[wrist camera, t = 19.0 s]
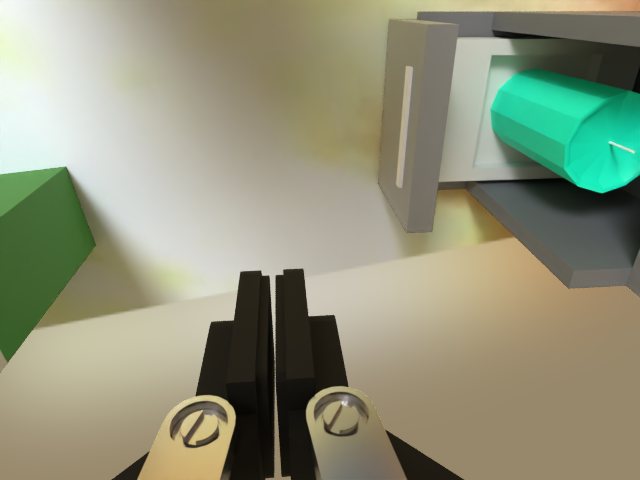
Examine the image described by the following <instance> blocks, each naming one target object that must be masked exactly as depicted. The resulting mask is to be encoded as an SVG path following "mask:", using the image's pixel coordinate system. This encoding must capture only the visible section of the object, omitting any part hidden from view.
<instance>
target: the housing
mask: <svg viewBox="0 0 640 480" xmlns="http://www.w3.org/2000/svg"><path fill="white" fill-rule="evenodd" d="M417 20H423V21H433V22H442V23H452V24H459V30H458V37H559V38H567V39H576V40H585V41H593V42H602V43H611V44H619V45H628V46H637V47H640V11H639V12H418V16H417ZM632 92H635V93H638V94H640V67H639V70H638V73H637V77H636V80H635V83H634V86H633V89H632ZM447 189H466V190H467V191H468V192H469V193H470V194H471V195H472V196H473V197H475V198H476V199H477V200H478V201H479V202H480V203H481V204H482V205H483V206H484V207H485V208H486V209H487V210H488V211H489V212H490V213H491V214H492V215H493V216H494V217H495V218H496V219H497V220H498V221H499V222H500V223H501V224H502V225H503V226H504V227H505V228H507V229H508V230H509V231H510V232H511V233H512V234H513V235H514V236H515V237H516V238H517V239H518V240H519V241H520V242H521V243H522V244H523V245H524V246H525V247H526V248H527V249H528V250H529V251H530V252H531V253H532V254H533V255H534V256H535V257H536V258H537V259H539V260H540V261H541V262H542V263H543V264H544V265H545V266H546V267H547V268H548V269H549V270H550V271H551V272H552V273H553V274H554V275H555V276H556V277H557V278H558V279H559V280H560V281H561V282H562V283H563V284H564V285H566V287H568V288H588V287H607V286H627V287H628V288H629V289H631V290H632V291H633V292H635V293H636V294H637V295H638V296H639V297H640V175H639V176H638V177H636V178H635V179H633V180H632V181H631V182H629V183H628V184H627V185H625V186H622V187H619V188H616V189H613V190H610V191H608V192H605V193H599V192H596V191H592V190H589V189H585V188H582V187H578V186H576V185H575V184H573V183H571V182H570V181H568V180H566V179H565V178H544V179H513V180H481V181H450V182H439V183H438V190H447Z"/></svg>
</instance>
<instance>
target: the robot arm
mask: <svg viewBox="0 0 640 480" xmlns="http://www.w3.org/2000/svg"><path fill="white" fill-rule="evenodd" d="M283 274H284V275H276V394H277V411H278V425H279V442H280V457H281V474H282V477H287V476H291V480H464V479H462V478H460V477H459V476H457V475H456V474H454V473H453V472H451V471H449V470H448V469H446V468H445V467H443V466H442V465H440V464H439V463H437V462H435V461H434V460H432V459H431V458H429V457H427V456H426V455H424V454H423V453H421V452H420V451H418V450H417V449H415V448H413V447H412V446H410V445H409V444H407V443H406V442H404V441H402V440H401V439H399V438H398V437H396V436H394V435H393V434H391V433H390V432H388V431H387V430H385V428H384V427H383V424H382V422H381V420H380V417H379V415H378V413H377V410H376V408H375V406H374V404H373V403H372V401H371V400H370V398H368V397H367V396H366V395H365V394H364V393H362V392H360V391H358V390H355V389H354V388H350V387H348V382H347V376H346V371H345V366H344V361H343V355H342V351H341V346H340V340H339V335H338V330H337V324H336V319H335V316H334V315H326V316H310V317H309V316H308V309H307V299H306V289H305V280H304V270H303V269H286V270H283ZM274 366H275V360H274V343H273V325H272V312H271V295H270V278H269V276H262V273H261V271H243V272H240V279H239V286H238V294H237V302H236V309H235V317H234V321H217V322H211V325H210V329H209V333H208V338H207V343H206V348H205V353H204V358H203V362H202V367H201V373H200V377H199V382H198V387H197V392H196V397H193V398H190V399H187V400H185V401H183V402H182V403H180V404H178V405H177V406H176V407H175V408H173V409H172V410H171V411H170V412H169V413H168V415H167V417H166V418H165V420H164V422H163V424H162V426H161V428H160V430H159V433H158V435H157V437H156V439H155V441H154V443H153V446H152V448H151V450H150V451H149V452H148V453H147V454H145V455H144V456H143V457H141V458H140V459H139V460H137V461H136V462H135V463H133V464H132V465H131V466H129V467H128V468H127V469H125V470H124V471H123V472H121V473H120V474H119V475H117V476H116V477H115V478H114V479H112V480H265V478H273V477H274V403H275V401H274V400H275V398H274V397H275V396H274V395H275V394H274V393H275V391H274V390H275V388H274V387H275V381H274V380H275V367H274Z"/></svg>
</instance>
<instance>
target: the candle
mask: <svg viewBox="0 0 640 480" xmlns="http://www.w3.org/2000/svg"><path fill="white" fill-rule="evenodd" d="M490 112H491V125H492V129H493V130H494V131H495V132H496V134H497V135H498V136H499V137H500V139H501V140H502V141H503V142H505V143H506V144H508V145H510V146H511V147H513V148H515V149H516V150H518V151H520V152H521V153H523V154H525V155H526V156H528V157H530V158H531V159H533V160H535V161H536V162H538V163H540V164H541V165H543V166H545V167H546V168H548V169H550V170H551V171H553V172H555V173H556V174H558V175H560V176H561V177H563V178H565V179H566V180H568V181H570V182H571V183H573V184H575V185H576V186H578V187H582V188H585V189H589V190H592V191H596V192H599V193H605V192H608V191H610V190H613V189H616V188H619V187H622V186H625V185H627V184H628V183H629V182H631V181H632V180H633V179H635V178H636V177H638V176H639V175H640V94H638V93H635V92H632V91H628V90H624V89H620V88H616V87H612V86H608V85H604V84H600V83H595V82H591V81H587V80H583V79H579V78H575V77H571V76H567V75H562V74H558V73H554V72H550V71H546V70H542V69H538V68H533V69H530V70H526V71H523V72H520V73H516V74H514V75H513V76H512V77H511V78H510V79H509V80H508V81H507V82H506V83H505V84H504V85H502V86H501V87H500V88H499V89H498V92H497V94H496V97H495V99H494V101H493V104H492V106H491V108H490Z"/></svg>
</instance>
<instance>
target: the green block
mask: <svg viewBox="0 0 640 480" xmlns="http://www.w3.org/2000/svg"><path fill="white" fill-rule="evenodd" d="M95 246H96V245H95V242H94V239H93V237H92V234H91V231H90V229H89V226H88V224H87V221H86V218H85V216H84V213H83V211H82V208H81V205H80V203H79V200H78V197H77V195H76V192H75V190H74V187H73V184H72V182H71V179H70V176H69V174H68V171H67V169H66V167H59V168H51V169H43V170H34V171H26V172H18V173H9V174H1V175H0V372H1V371H2V370H3V368H4V367H5V366H6V364H7V363H8V362H9V360H10V359H11V358H12V356H13V355H14V354H15V352H16V351H17V350H18V348H19V347H20V346H21V344H22V343H23V342H24V340H25V339H26V338H27V336H28V335H29V334H30V332H31V331H32V330H33V328H34V327H35V326H36V324H37V323H38V322H39V320H40V319H41V318H42V316H43V315H44V314H45V312H46V311H47V310H48V308H49V307H50V306H51V304H52V303H53V302H54V300H55V299H56V298H57V296H58V295H59V294H60V292H61V291H62V290H63V288H64V287H65V286H66V284H67V283H68V282H69V280H70V279H71V278H72V276H73V275H74V274H75V272H76V271H77V270H78V268H79V267H80V266H81V264H82V263H83V262H84V260H85V259H86V258H87V256H88V255H89V254H90V252H91V251H92V250H93V248H94V247H95Z"/></svg>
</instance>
